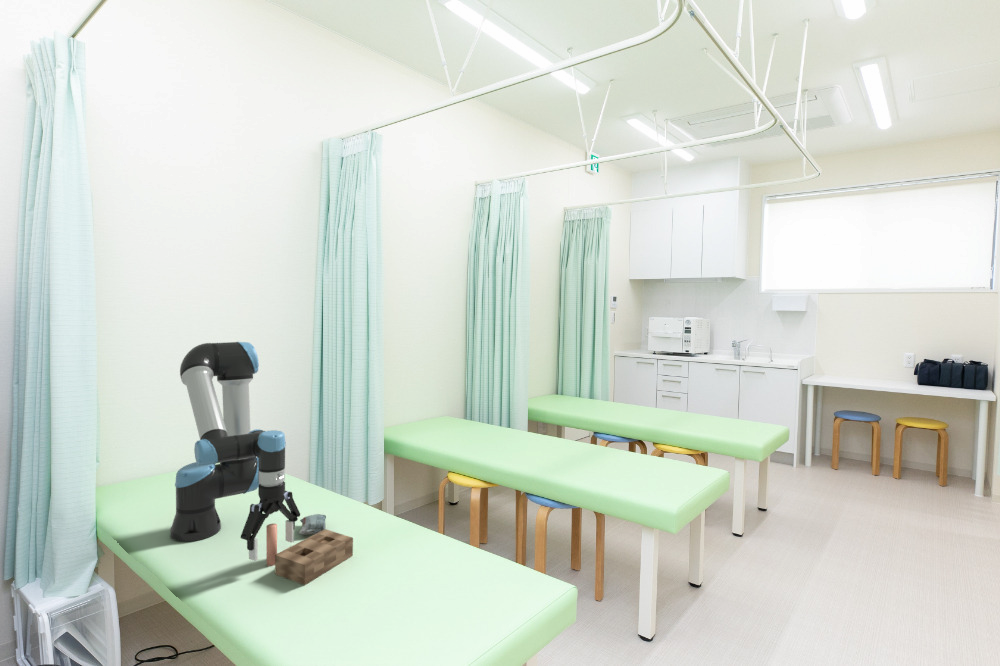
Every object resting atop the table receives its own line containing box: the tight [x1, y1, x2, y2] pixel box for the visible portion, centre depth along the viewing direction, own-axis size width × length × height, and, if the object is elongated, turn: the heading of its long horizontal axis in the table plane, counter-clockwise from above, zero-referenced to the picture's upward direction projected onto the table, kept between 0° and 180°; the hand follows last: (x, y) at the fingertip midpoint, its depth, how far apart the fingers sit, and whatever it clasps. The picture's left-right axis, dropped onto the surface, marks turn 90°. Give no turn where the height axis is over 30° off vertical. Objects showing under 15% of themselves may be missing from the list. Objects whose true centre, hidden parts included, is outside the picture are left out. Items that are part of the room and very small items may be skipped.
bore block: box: [274, 529, 354, 586], centre depth 167 cm, size 12×20×6 cm, turn 154°
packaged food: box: [298, 513, 327, 535], centre depth 190 cm, size 9×12×5 cm
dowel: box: [265, 523, 278, 567], centre depth 167 cm, size 3×3×12 cm
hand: (271, 550), depth 167 cm, fingers open, 13 cm apart
